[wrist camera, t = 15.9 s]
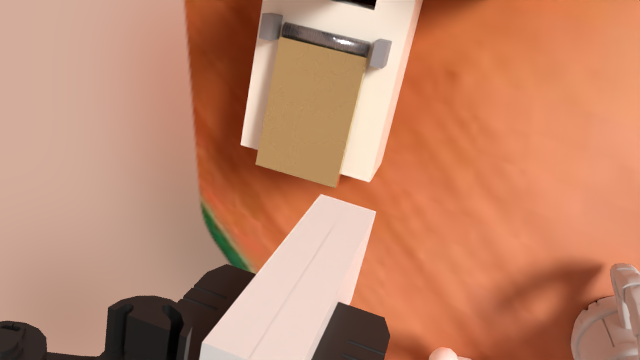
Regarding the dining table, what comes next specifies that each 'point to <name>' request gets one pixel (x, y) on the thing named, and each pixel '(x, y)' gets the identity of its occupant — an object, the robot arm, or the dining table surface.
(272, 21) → the socket block
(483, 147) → the dining table surface
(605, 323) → the mug
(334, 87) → the brass flap
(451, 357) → the mug
